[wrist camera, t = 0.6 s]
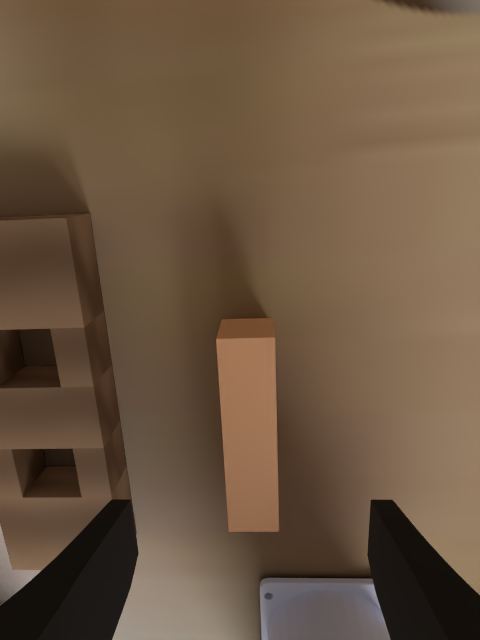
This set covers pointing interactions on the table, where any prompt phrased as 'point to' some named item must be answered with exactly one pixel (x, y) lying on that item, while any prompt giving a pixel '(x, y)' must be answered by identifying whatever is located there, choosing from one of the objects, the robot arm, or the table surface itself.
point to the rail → (54, 389)
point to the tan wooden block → (249, 422)
